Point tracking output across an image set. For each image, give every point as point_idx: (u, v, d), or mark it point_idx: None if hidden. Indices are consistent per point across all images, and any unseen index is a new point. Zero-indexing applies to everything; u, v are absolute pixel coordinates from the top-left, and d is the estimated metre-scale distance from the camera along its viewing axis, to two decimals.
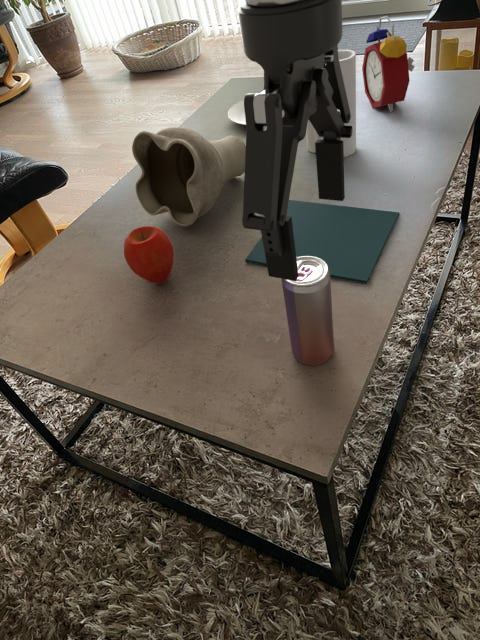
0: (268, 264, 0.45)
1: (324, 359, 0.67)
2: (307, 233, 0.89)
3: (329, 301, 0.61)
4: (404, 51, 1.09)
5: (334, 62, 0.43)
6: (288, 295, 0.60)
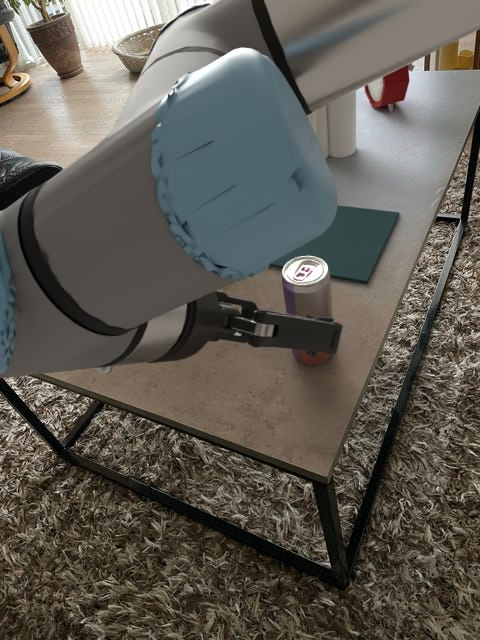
0: None
1: (324, 359, 0.67)
2: None
3: (329, 300, 0.61)
4: None
5: None
6: (288, 295, 0.60)
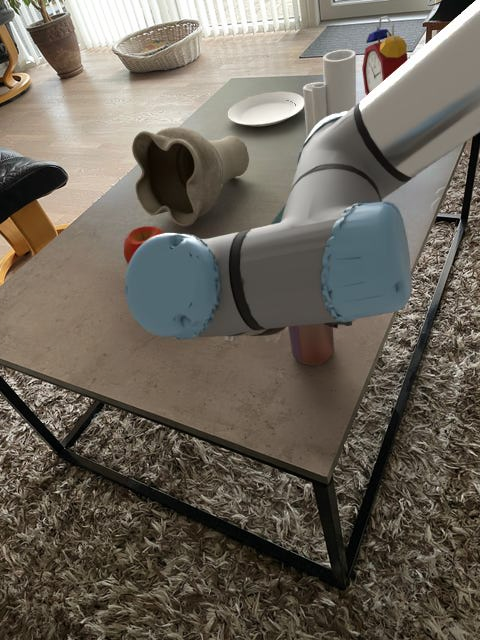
0: None
1: (324, 359, 0.67)
2: None
3: None
4: (404, 51, 1.09)
5: None
6: None
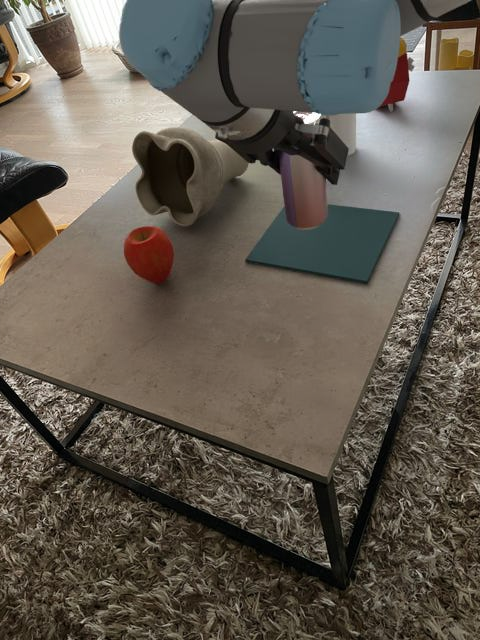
0: (334, 180, 0.66)
1: (318, 222, 0.67)
2: (307, 233, 0.89)
3: None
4: (404, 51, 1.09)
5: None
6: None
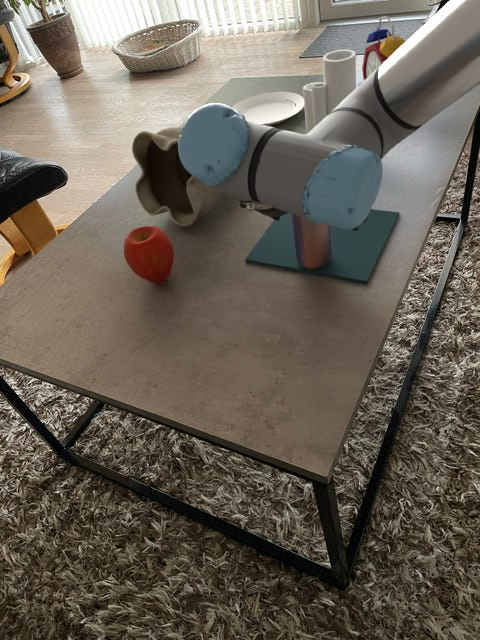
0: (356, 228, 0.75)
1: (323, 263, 0.80)
2: None
3: None
4: None
5: None
6: None
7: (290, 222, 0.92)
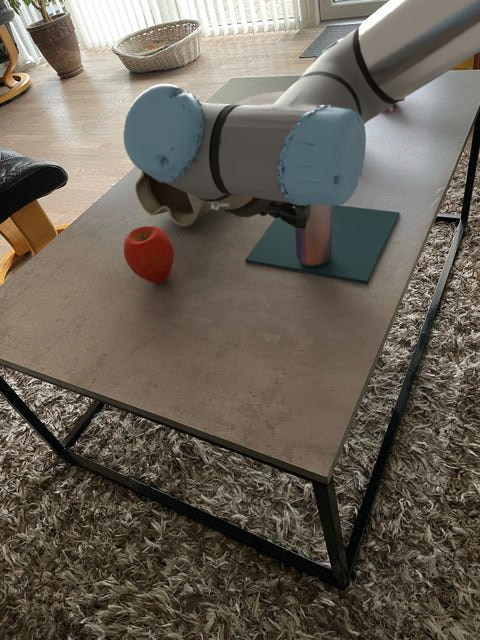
0: (302, 226, 0.73)
1: (324, 260, 0.80)
2: None
3: None
4: None
5: None
6: None
7: None
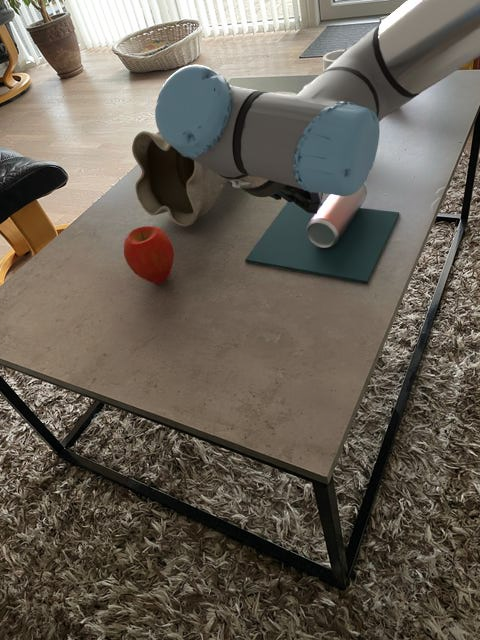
0: (314, 210, 0.76)
1: (336, 226, 0.81)
2: None
3: (359, 205, 0.87)
4: None
5: None
6: None
7: (290, 222, 0.92)
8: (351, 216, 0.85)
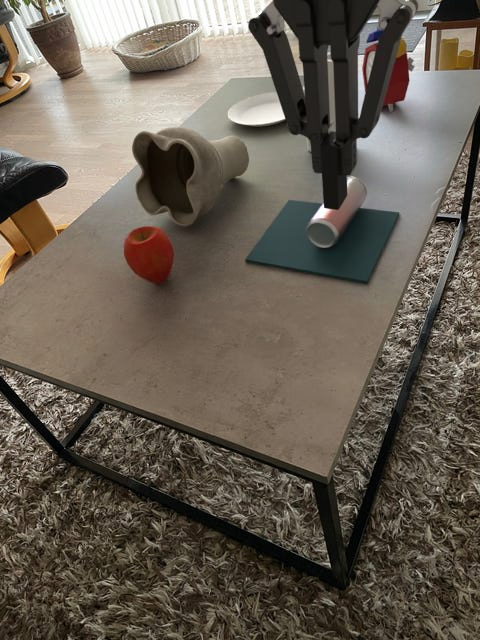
0: (338, 195, 0.46)
1: (337, 226, 0.81)
2: None
3: (359, 205, 0.87)
4: (404, 51, 1.09)
5: (282, 31, 0.40)
6: None
7: (290, 222, 0.92)
8: (351, 216, 0.85)
